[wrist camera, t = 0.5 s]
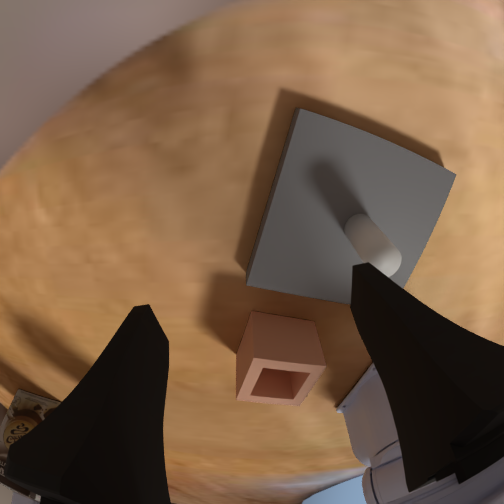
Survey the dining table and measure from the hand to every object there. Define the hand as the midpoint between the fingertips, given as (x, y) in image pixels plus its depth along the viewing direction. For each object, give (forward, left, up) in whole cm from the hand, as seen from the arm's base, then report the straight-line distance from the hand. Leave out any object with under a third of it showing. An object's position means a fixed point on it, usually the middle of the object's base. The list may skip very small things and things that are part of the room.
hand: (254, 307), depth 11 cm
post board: (+1, -7, -11) cm, 13 cm away
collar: (-11, -5, -11) cm, 16 cm away
